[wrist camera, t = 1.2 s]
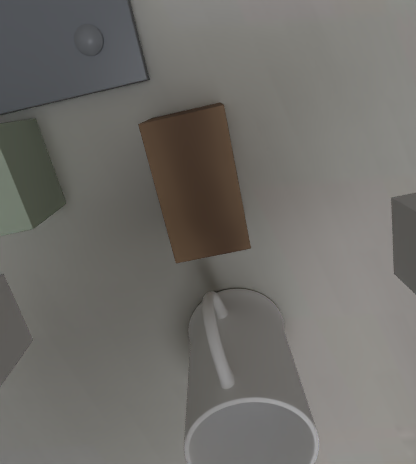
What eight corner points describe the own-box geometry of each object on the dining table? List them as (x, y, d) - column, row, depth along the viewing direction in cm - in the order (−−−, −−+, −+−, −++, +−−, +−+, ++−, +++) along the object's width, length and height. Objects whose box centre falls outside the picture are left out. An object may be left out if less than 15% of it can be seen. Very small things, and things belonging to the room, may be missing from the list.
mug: (165, 267, 31) (142, 367, 20) (265, 243, 30) (301, 331, 19) (202, 376, 35) (201, 510, 24) (291, 357, 34) (333, 486, 23)
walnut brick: (181, 231, 30) (176, 263, 24) (152, 117, 27) (138, 124, 21) (242, 219, 30) (250, 248, 24) (219, 102, 26) (223, 104, 21)
